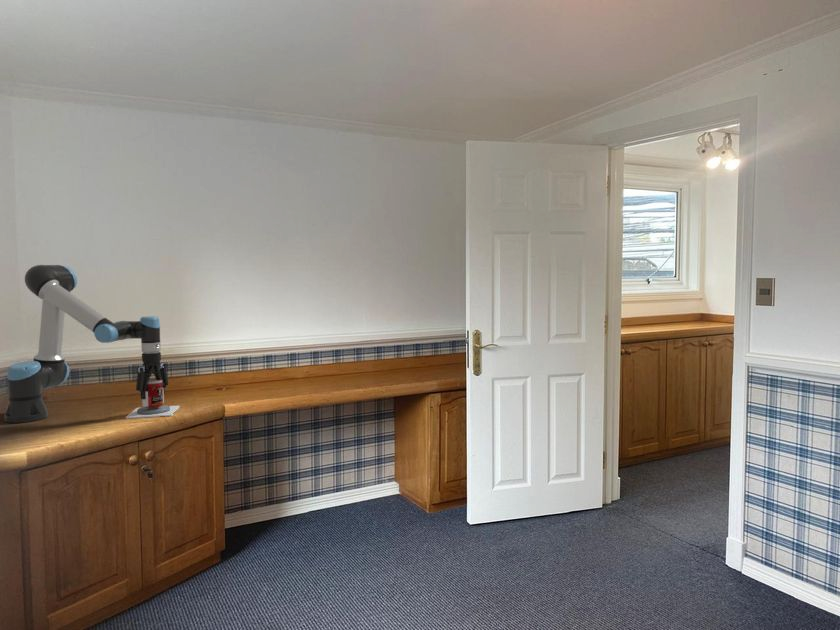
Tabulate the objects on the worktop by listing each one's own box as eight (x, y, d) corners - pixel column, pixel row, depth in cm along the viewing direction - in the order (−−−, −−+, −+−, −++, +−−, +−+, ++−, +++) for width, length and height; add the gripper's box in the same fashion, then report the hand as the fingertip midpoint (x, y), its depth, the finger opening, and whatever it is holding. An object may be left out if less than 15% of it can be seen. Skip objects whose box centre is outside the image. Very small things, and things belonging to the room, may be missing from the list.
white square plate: (125, 418, 246) (125, 414, 246) (137, 409, 263) (136, 405, 263) (171, 416, 249) (171, 411, 249) (179, 406, 267) (179, 402, 267)
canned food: (153, 408, 251) (152, 382, 250) (139, 407, 254) (138, 381, 253) (167, 404, 258) (166, 379, 258) (153, 403, 261) (152, 378, 260)
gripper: (137, 355, 244) (139, 410, 245) (176, 349, 262) (178, 400, 264) (124, 354, 247) (126, 408, 248) (163, 349, 265) (165, 399, 267)
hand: (153, 404), depth 256 cm, fingers closed on canned food, 8 cm apart
